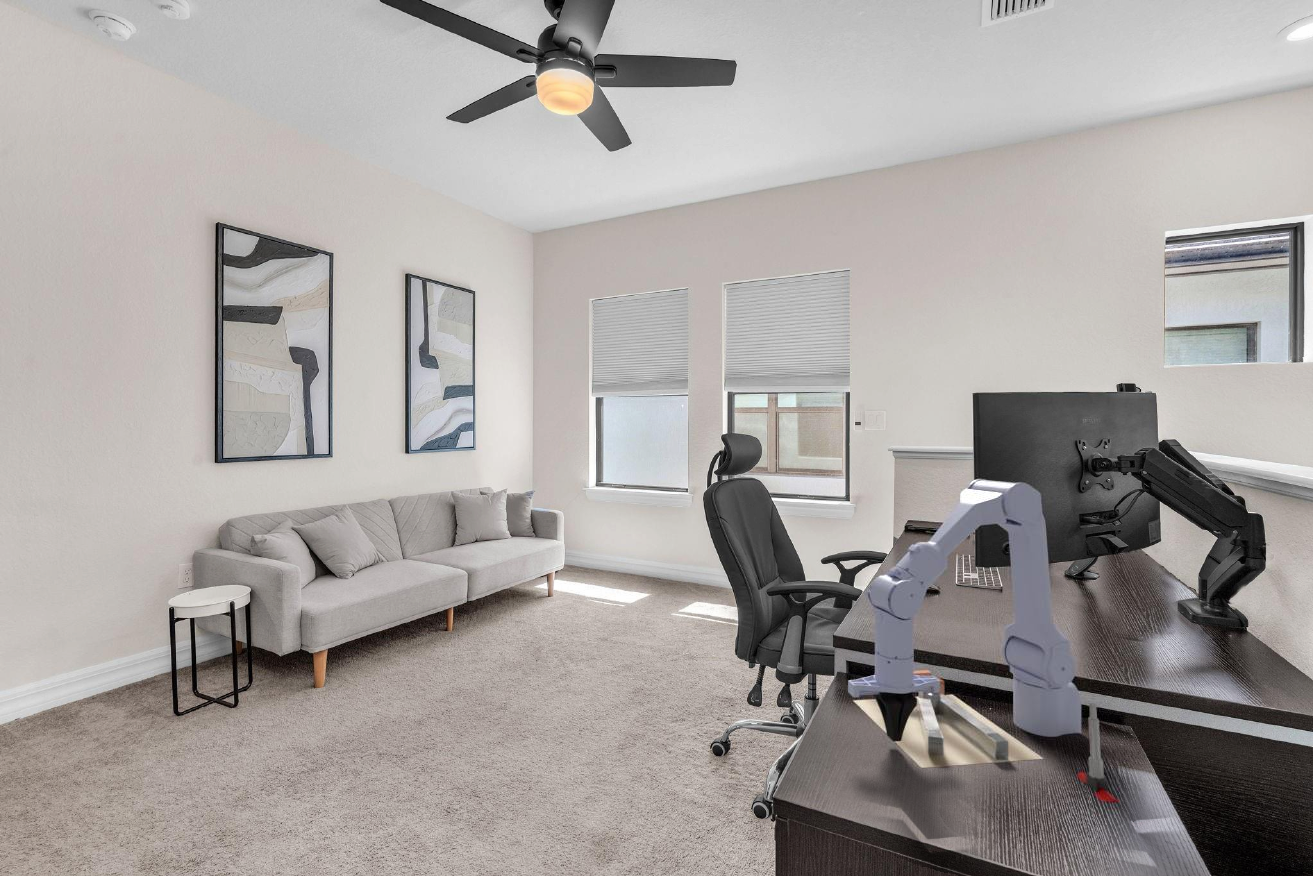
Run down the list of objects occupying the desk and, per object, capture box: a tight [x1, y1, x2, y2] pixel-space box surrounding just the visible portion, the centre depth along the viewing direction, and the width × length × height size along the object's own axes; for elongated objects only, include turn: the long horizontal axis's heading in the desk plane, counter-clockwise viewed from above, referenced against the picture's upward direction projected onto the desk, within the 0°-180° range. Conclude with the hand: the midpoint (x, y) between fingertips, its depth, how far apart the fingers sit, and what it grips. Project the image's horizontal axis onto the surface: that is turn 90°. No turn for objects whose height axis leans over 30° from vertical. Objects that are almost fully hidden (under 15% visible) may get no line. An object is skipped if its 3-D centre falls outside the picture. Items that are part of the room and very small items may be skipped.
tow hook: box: [1076, 702, 1120, 803], centre depth 83 cm, size 8×13×9 cm
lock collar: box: [914, 669, 945, 695], centre depth 109 cm, size 8×2×5 cm, turn 97°
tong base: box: [918, 691, 1008, 760], centre depth 100 cm, size 4×21×3 cm, turn 7°
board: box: [852, 694, 1044, 769], centre depth 100 cm, size 20×22×1 cm
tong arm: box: [918, 698, 944, 755], centre depth 97 cm, size 2×14×3 cm, turn 162°
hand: (894, 738), depth 93 cm, fingers closed
